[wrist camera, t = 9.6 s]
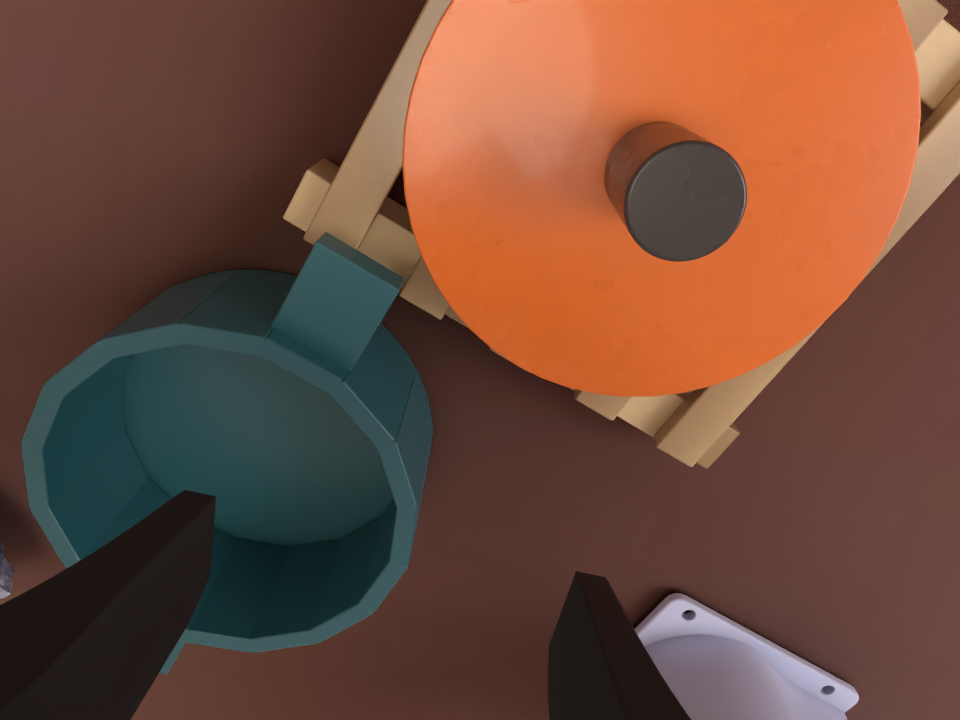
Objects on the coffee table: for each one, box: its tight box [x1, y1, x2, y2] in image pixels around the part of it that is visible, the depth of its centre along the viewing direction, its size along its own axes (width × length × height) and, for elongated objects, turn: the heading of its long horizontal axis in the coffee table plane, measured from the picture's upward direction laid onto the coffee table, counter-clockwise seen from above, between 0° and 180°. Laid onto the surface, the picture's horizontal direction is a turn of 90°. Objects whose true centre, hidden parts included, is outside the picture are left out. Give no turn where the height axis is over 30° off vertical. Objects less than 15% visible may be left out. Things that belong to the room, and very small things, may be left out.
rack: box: [283, 0, 960, 469], centre depth 19 cm, size 15×13×3 cm
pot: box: [21, 232, 433, 675], centre depth 22 cm, size 11×17×5 cm
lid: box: [402, 0, 921, 397], centre depth 16 cm, size 12×12×4 cm
